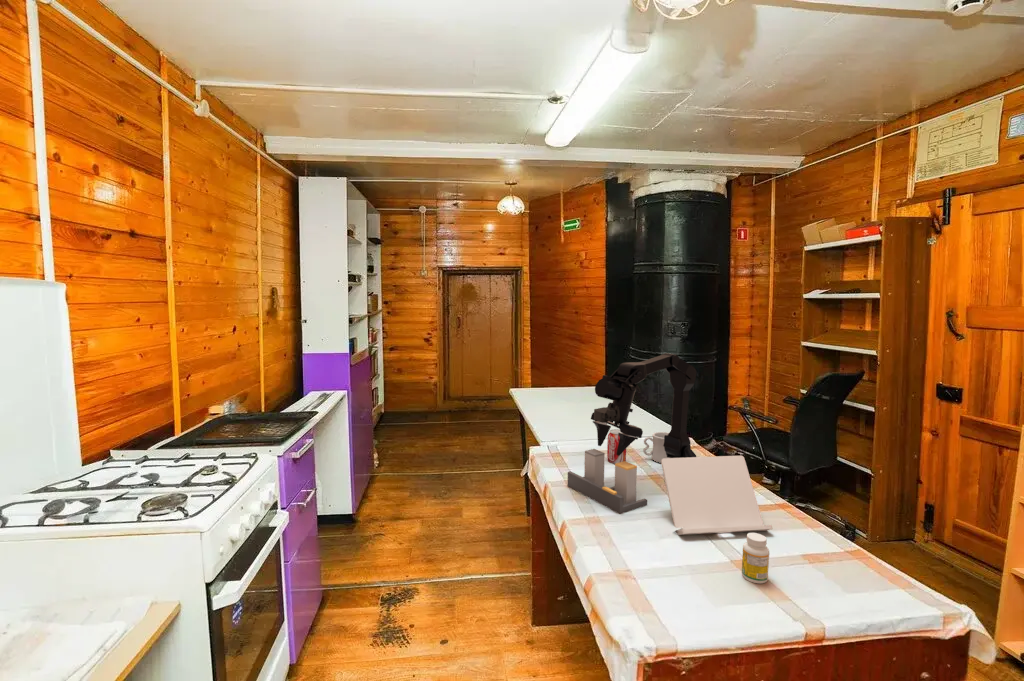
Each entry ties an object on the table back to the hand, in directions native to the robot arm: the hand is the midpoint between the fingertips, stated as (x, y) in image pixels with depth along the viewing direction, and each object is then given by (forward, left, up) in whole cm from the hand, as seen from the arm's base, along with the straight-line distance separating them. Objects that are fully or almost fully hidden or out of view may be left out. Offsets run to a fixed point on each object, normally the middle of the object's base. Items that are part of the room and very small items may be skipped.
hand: (608, 450), depth 154 cm
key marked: (-5, +6, -14) cm, 16 cm away
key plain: (+5, -4, -14) cm, 15 cm away
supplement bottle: (-34, +37, -15) cm, 53 cm away
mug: (-18, -39, -15) cm, 45 cm away
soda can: (-2, -33, -15) cm, 36 cm away
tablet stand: (-29, +11, -15) cm, 35 cm away
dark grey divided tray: (+1, +2, -15) cm, 15 cm away
